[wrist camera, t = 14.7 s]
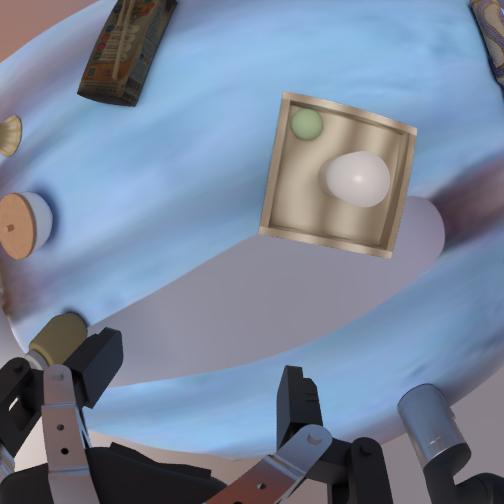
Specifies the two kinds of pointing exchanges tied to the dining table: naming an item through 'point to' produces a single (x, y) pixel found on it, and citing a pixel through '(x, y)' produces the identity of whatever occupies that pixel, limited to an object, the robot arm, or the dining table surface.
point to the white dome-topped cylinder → (355, 178)
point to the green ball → (306, 124)
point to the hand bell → (10, 135)
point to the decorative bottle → (492, 33)
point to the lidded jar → (24, 223)
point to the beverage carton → (125, 51)
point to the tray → (311, 194)
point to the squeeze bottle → (56, 341)
